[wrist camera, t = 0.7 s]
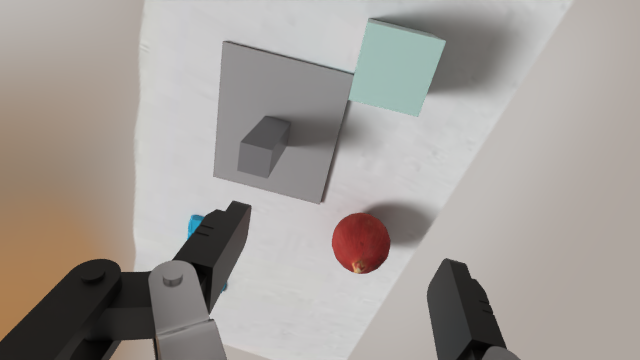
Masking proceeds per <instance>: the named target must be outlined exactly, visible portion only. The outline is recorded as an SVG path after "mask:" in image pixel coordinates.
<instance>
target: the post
mask: <svg viewBox="0 0 640 360" xmlns="http://www.w3.org/2000/svg"><path fill="white" fill-rule="evenodd" d="M290 126H291V122H288V121H284V120H280V119H276V118H272V117H268V116H264V117H263V119H262V120H261V121H260V122H259V123H258V124H257V125H256V126H255V127H254V128H253V129H252V130H251V131H250V132H249V133H248V134H247V135H246V136H245V138H244V139H243V140H242V141H241V142H240V148H239V158H238V167H237V171H240V172H244V173H248V174H252V175H255V176H259V177H263V178H267V179H268V177H269V176H270V174H271V172H272V171H273V169H274V167H275V165H276V164H277V162H278V160H279V159H280V157H281V155H282V154H283V152H284V150H285V148H286V147H287V142H288V137H289V131H290Z"/></svg>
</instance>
